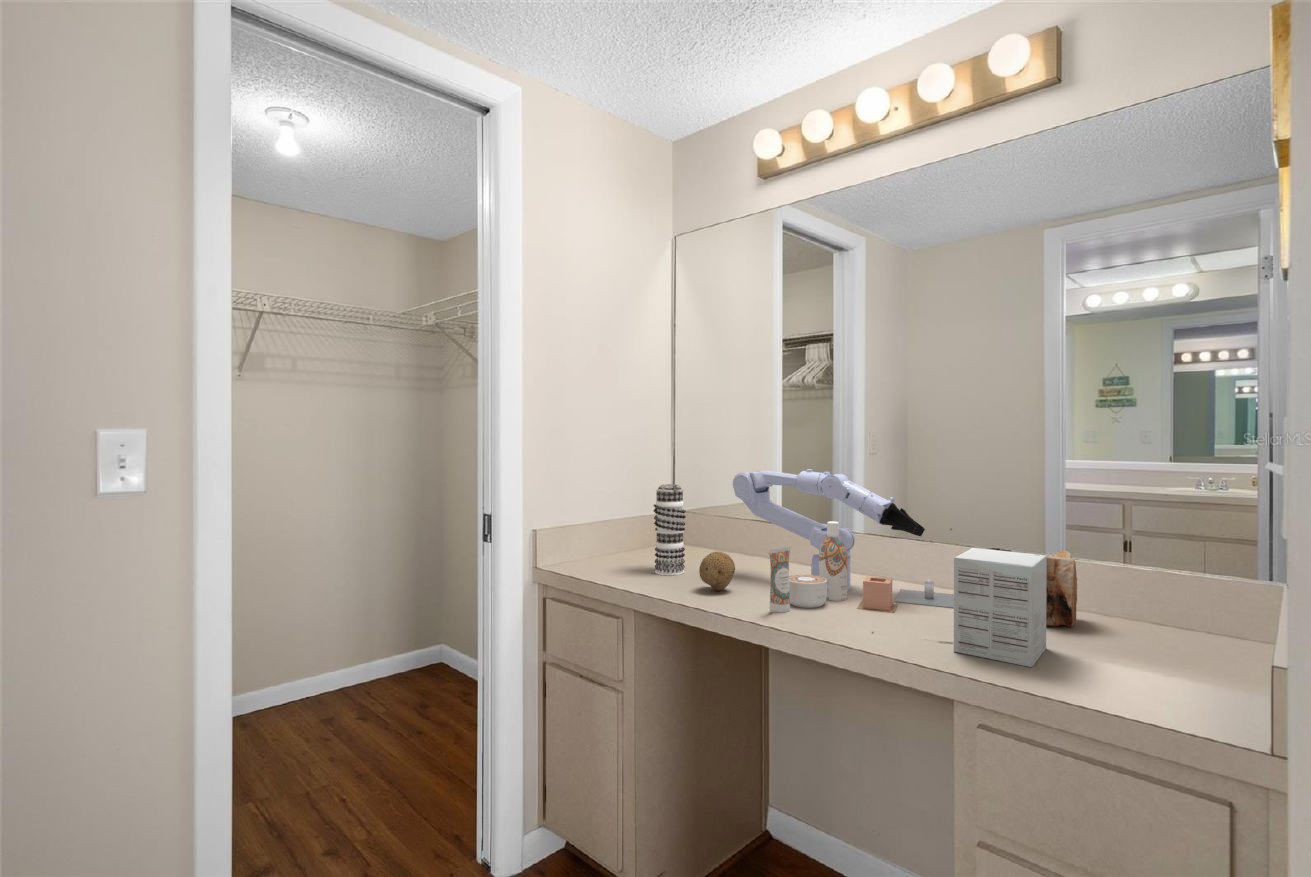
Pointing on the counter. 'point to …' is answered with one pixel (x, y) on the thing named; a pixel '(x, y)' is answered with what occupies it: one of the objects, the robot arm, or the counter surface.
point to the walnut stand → (892, 610)
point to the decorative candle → (669, 530)
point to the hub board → (923, 601)
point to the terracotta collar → (877, 593)
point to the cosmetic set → (810, 576)
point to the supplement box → (1000, 605)
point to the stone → (1061, 590)
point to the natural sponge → (717, 570)
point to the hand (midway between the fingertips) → (919, 530)
